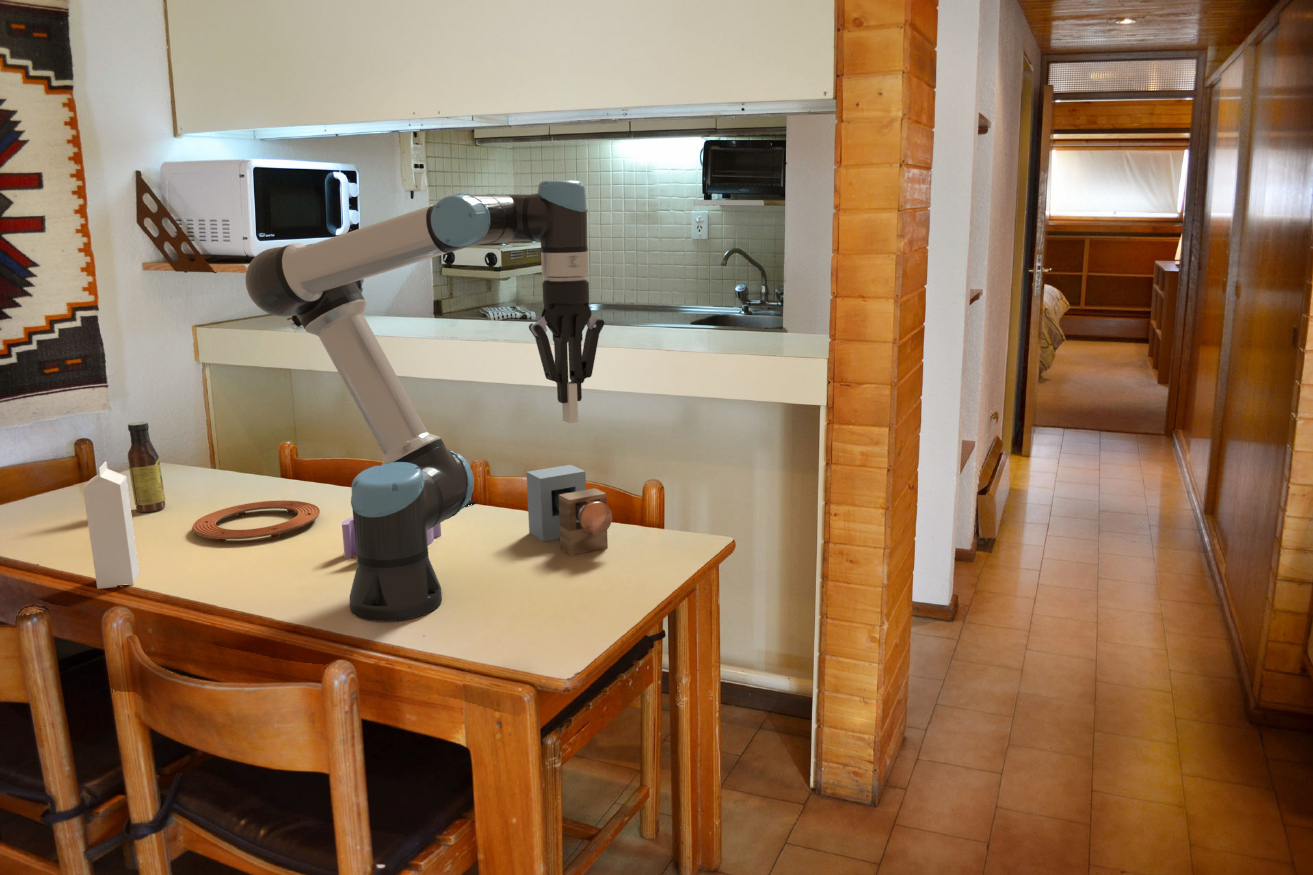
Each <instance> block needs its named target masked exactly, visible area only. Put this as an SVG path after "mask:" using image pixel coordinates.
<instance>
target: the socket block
mask: <svg viewBox="0 0 1313 875" xmlns="http://www.w3.org/2000/svg"><path fill="white" fill-rule="evenodd" d="M586 478H587V477H586V470H584V469H581V468H579V467H577V466H575V465H572V464H567V465H560V466H554V467H553V466H552V467H548V468H543V469H536V470H530V471H526V487H527V488H526V490H527V492H526V494H527V513H528V515H527V516H528V533H529V534H530V535H532V536H533V537H535V538H536V539H538V540H539V541H541V542H547V541H553V540H558V539H559V540H560V519H559V510H558V509H556V508H554V507H552V496H551V491H552V490H558V489H562V490H564V491H566V492H568V493H571V492H577V491H583V490H587V487H586V486H587V484H586ZM576 522H579V521H578V520H576Z"/></svg>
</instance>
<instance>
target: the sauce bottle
mask: <svg viewBox="0 0 1313 875" xmlns="http://www.w3.org/2000/svg"><path fill="white" fill-rule="evenodd" d="M127 429H128V431H129V435H130V448H129V450H128V452H127V460H128V465H129V466H128V469H129V476H130V482H131V488H132V494H133V500H134V501H133V502H134V506H135V509H136V511H137V512H139V513H151V512H157V511H161V510H162V509H164V508H165V507H166V495H165V490H164V483H163V476H162V475H163V474H162V469H161V463H160V462H161V461H160V458H159V454H158V452H157V451H156V449H155V447H154V445H153V444H152V442H151V439H150V432H149V423H148V422H147V421H135V422H131V423H128V424H127Z"/></svg>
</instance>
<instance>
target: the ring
mask: <svg viewBox="0 0 1313 875" xmlns="http://www.w3.org/2000/svg"><path fill="white" fill-rule="evenodd" d="M271 509H272V510H273V509H274V510H275V509H279V510H286V513H287V514H294V513H296V514H297V515H296V516H295V517H293V518H290V519H289V520H285V521H284V522H281V523H277V524H273V525H268V526H265V527H258V528H250V529H230V528H223V527H220V526H218V525H217V523H219V522H220V521H222V520H224V519H226V518H228V517H232V516H234V515H237V517H245V516H246V512H252V511H258V510H260V511H261V510H271ZM320 513H321V509H320V508H319V506H317V505H315V504H313V503H311V502H307V501H306V502H305V501H299V500H285V499H284V500H268V501H267V500H265V501H255V502H249V503H243V504H238V505H233V506H231V507H226V508H222V509H218V510H216V511H213V512H210V513H208V514H206V515H203V516H201V517H200V518H198V519H197V520H196V521H195V522H193V524H192V526H191V528H192V531H193V533H195V534H196V535H198V536H200V537H203V538H208V539H215V540H216V541H217V543H218V544H219V543H225V542H227V540H247V539H256V538H257V539H259V538H263V537H268V536H270V537H271V539H273V540H277V539H279V538H280V534H282V533H286V532H290V531H293V530H296V529H299V528H301V527H304V526H306V525H309V524H310V525H311V524H312V523H314V522H313V521H315V520H316V519H317V518H318V517H319V516H320Z"/></svg>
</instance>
